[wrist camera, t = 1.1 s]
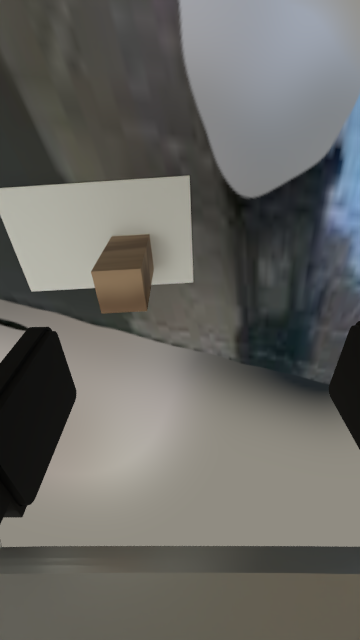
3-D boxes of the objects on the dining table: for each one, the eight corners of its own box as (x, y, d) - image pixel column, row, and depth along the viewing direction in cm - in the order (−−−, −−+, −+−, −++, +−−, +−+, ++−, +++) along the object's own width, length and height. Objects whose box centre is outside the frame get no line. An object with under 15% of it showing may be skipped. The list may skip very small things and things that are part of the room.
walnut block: (111, 235, 37) (90, 271, 28) (149, 233, 37) (140, 268, 28) (118, 270, 40) (101, 313, 31) (153, 268, 40) (146, 310, 31)
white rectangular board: (-9, 188, 34) (-11, 189, 34) (189, 175, 34) (189, 175, 33) (32, 290, 42) (31, 291, 42) (193, 281, 42) (193, 282, 41)
